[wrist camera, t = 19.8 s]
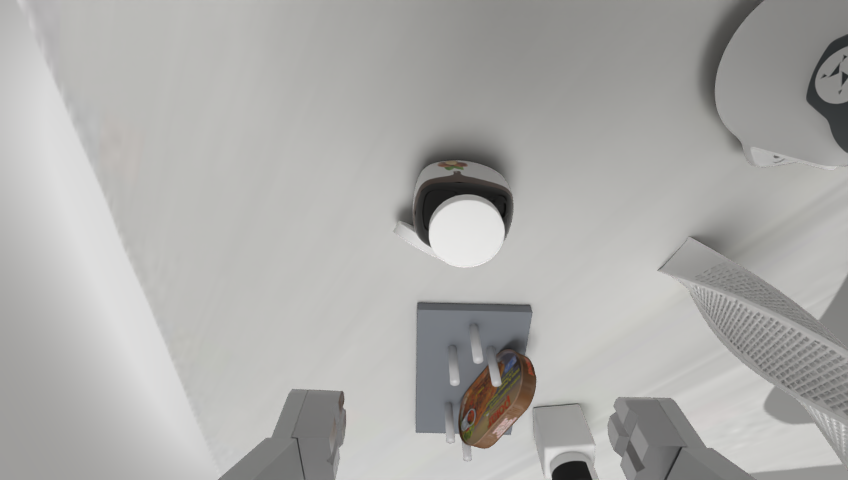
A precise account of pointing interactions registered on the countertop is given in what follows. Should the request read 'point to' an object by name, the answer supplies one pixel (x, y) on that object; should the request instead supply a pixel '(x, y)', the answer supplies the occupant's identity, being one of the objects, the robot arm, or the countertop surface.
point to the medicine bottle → (564, 443)
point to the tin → (496, 400)
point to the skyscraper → (770, 335)
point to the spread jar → (459, 213)
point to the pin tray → (461, 357)
